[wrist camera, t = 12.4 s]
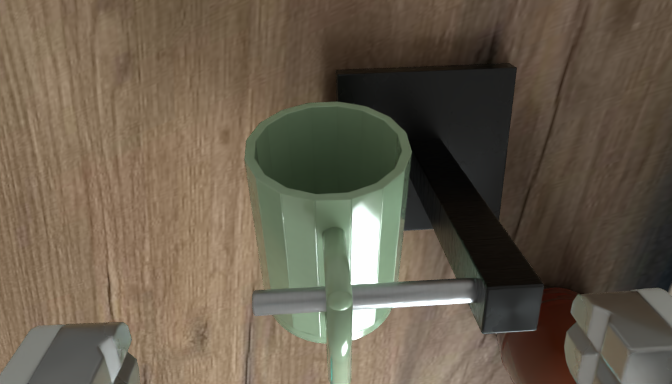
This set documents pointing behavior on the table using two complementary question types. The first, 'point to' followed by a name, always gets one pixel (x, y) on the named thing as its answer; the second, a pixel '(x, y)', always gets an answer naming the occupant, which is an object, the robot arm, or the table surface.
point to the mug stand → (444, 194)
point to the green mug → (329, 214)
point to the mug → (541, 343)
